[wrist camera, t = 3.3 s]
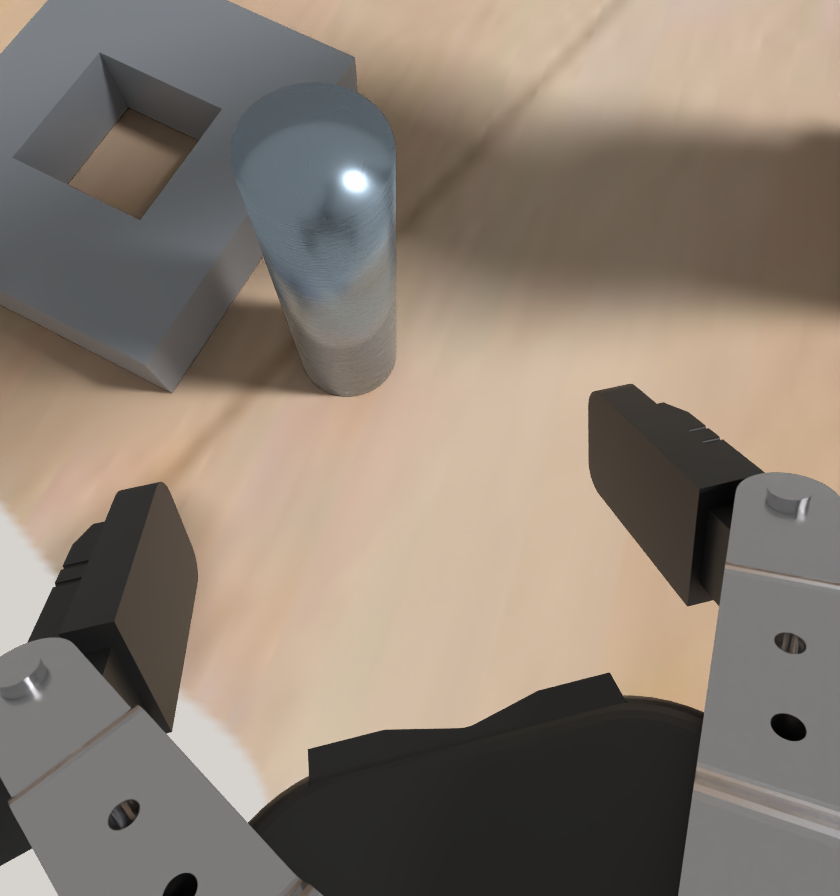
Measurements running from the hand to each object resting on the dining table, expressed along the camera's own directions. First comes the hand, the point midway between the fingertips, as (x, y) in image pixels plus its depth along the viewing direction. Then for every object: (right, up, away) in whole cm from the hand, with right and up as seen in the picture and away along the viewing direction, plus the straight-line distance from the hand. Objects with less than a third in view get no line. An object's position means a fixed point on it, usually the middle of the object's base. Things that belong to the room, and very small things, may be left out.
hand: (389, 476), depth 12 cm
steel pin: (-2, +5, +15) cm, 16 cm away
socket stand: (-12, +12, +17) cm, 24 cm away
